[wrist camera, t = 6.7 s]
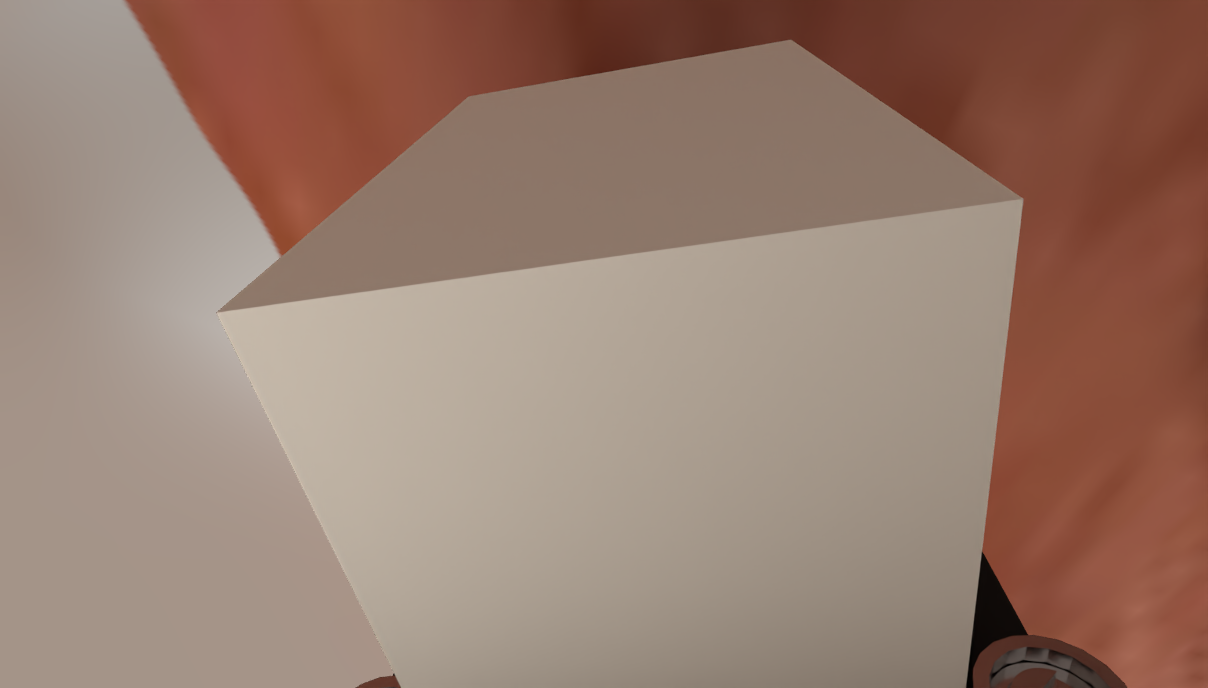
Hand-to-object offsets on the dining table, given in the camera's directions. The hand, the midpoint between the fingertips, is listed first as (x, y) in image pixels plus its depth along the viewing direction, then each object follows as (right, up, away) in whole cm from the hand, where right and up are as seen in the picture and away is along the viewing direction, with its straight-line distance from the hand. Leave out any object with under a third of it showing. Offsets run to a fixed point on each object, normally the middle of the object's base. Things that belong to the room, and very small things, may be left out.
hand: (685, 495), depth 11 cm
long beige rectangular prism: (0, +1, +1) cm, 1 cm away
